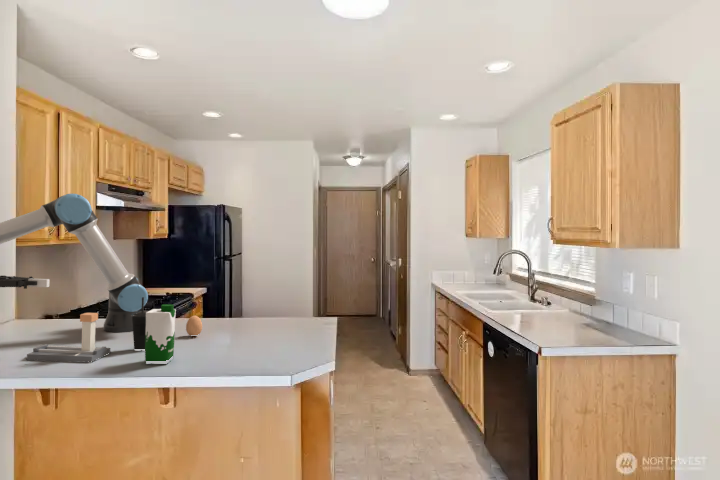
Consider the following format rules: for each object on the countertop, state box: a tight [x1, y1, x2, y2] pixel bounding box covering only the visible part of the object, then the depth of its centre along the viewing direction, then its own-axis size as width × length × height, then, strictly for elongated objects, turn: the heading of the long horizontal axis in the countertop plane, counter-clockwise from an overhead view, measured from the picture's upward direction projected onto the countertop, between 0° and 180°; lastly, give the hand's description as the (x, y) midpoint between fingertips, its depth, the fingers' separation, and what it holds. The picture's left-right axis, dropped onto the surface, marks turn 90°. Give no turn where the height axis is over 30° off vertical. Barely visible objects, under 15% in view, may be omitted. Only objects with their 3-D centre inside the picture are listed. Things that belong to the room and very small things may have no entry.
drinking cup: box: [131, 297, 149, 350], centre depth 178 cm, size 8×8×20 cm
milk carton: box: [144, 303, 177, 362], centre depth 163 cm, size 9×9×20 cm
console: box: [26, 343, 111, 363], centre depth 166 cm, size 22×12×3 cm, turn 90°
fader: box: [79, 312, 99, 351], centre depth 165 cm, size 4×4×13 cm
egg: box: [185, 315, 203, 336], centre depth 202 cm, size 7×7×9 cm
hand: (48, 283), depth 165 cm, fingers closed
